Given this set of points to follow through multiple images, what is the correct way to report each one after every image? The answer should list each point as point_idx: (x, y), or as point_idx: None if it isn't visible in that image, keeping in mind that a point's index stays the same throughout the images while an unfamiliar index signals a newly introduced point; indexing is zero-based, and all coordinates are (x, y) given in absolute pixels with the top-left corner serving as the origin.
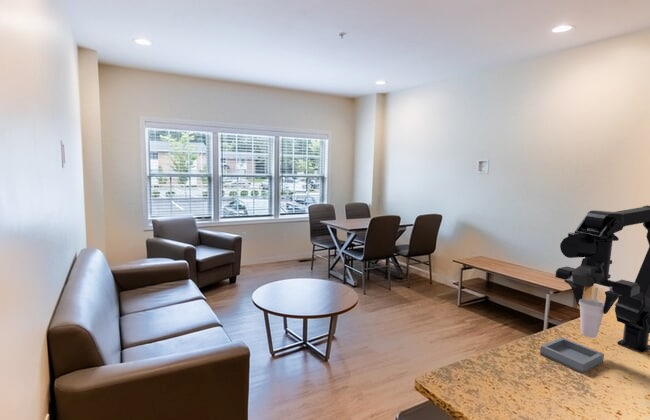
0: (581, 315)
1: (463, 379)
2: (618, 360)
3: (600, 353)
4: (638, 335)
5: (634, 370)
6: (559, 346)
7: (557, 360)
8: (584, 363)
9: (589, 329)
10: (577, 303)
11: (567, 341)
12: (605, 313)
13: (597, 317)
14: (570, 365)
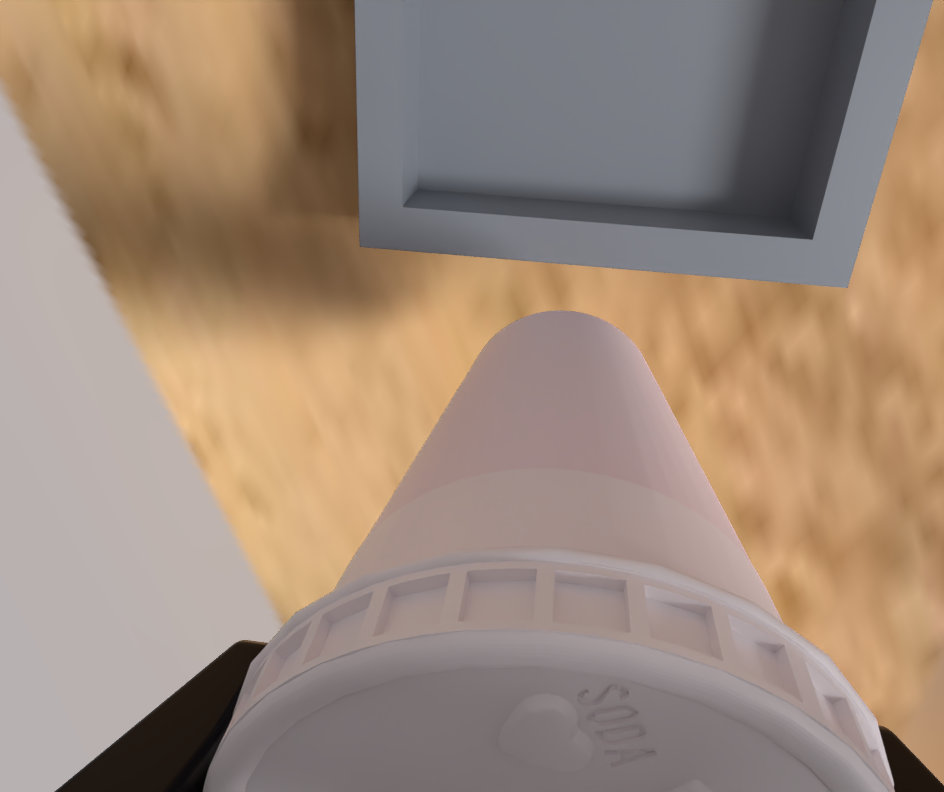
0: (690, 476)
1: None
2: (334, 386)
3: (385, 223)
4: None
5: (181, 304)
6: (813, 133)
7: None
8: None
9: (517, 351)
10: (906, 763)
11: (759, 233)
12: (231, 652)
13: (381, 516)
14: None
